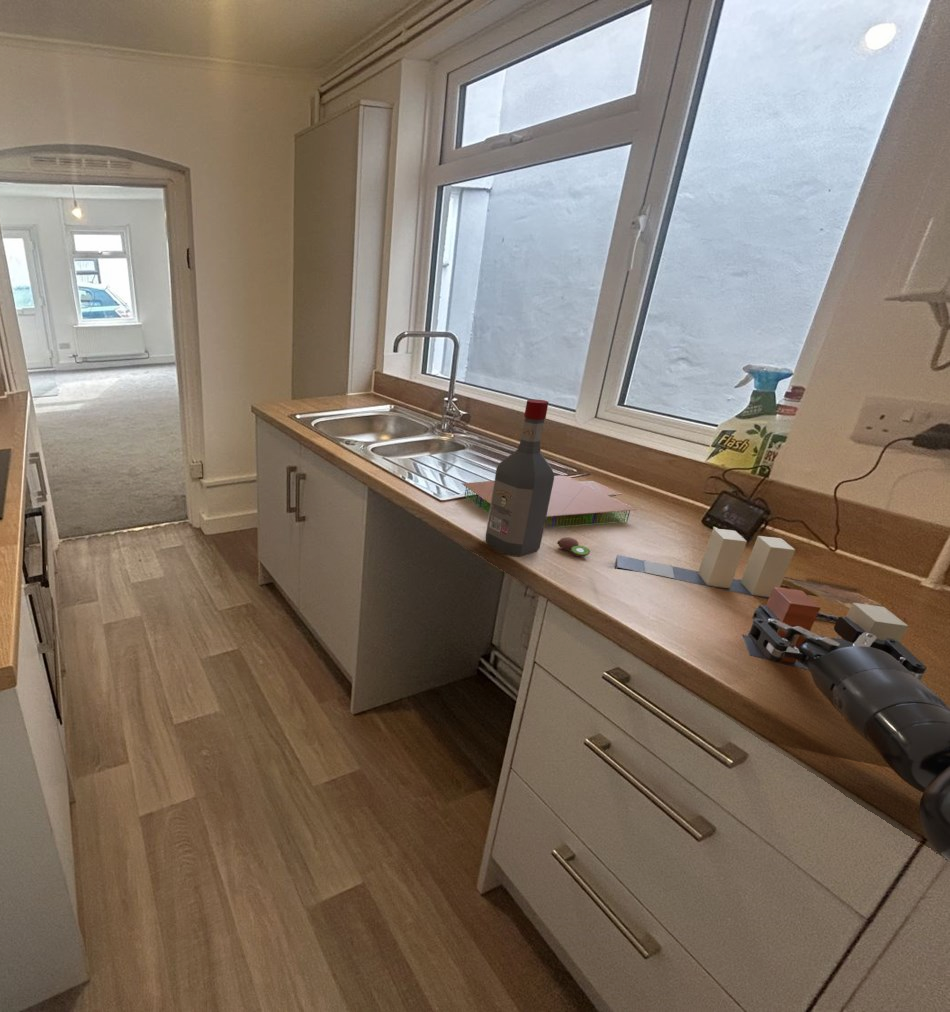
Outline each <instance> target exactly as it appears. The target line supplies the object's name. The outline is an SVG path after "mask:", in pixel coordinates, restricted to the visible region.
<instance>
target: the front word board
mask: <svg viewBox="0 0 950 1012" xmlns="http://www.w3.org/2000/svg"><path fill="white" fill-rule="evenodd" d="M845 617H847V618H849V619H850V620H851V621H852V622H854V623H856V624H857V625H859V626H860V627H861V628H862V629H863V630H864V631H865V632H868V633H871V634H874V635H875V636H877V639H880V640H885V639H886V638H891V639H894V640H897V641H898V642H900V643H901V641H902V639H903V638H904V635H905V634H906V632H907V630H908V628H909V625H908V624H907V623H906V622H904V621H903V620H901V619H900V618H899V617H898V616H897V615H895V614H894V613H892V612H891V611H890V610H889V609H888V608H886V607H885V606H882V605H881V606H873V605H866V604H859V603H852V606H851V608H849V609H848V612H847V614H846V616H845ZM742 638H743V642H744V644H745V647H746V650H747V652H748V655H749V656H751V657H754V658H759V659H763V660H767V661H771V660H770V659H768V658H766V656H765V655H764V654H763V653H762V651H761V650H760V649H759V648H758V646H757V645H756V644H755V643H754V642H753V641H752V639H751V638H750V637H749V636H748V634H747V635H746V634H742ZM835 638H838V639H843V638H842V637H841V636H840V635H839V634H837V635H836V637H835ZM771 662H772V661H771ZM780 664H782V665H785V666H786V665H787V666H790V667H793V668H797V669H803V670H805V671H809V672H810V670H809V668H807V667H806V666H804V665H803V664H801V663H799V662H798V661H796V663H792V662H786V661H782V662H781V663H780Z"/></svg>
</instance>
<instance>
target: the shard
mask: <svg viewBox="0 0 950 1012" xmlns="http://www.w3.org/2000/svg"><path fill="white" fill-rule="evenodd" d="M781 585H784V586H786V588H788V589H794V590H802V591H803V592H804V593H805V594H806V595H807V596H812V597H818V598H820V597H821V598H823V599H825V600H827V601H829V602H831V603H833V604H836V605H838V606H840V607H842V608H844V606H845V607H847V608H849V609H850V608H851V606H852V603H859V604H866V605H873V606H881V607H882V604H881V603H880V602H877V601H875V600H873V599H869V598H868V597H866V596H863V595H862V594H859V592H856V591H852V590H848V589H844V588H838V587H835V586H831V585H826V584H822V583H817V582H813V581H807V580H801V579H797V578H792V577H787V576H784V579H783V581H782V584H781Z"/></svg>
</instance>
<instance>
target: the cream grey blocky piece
mask: <svg viewBox="0 0 950 1012" xmlns="http://www.w3.org/2000/svg"><path fill="white" fill-rule="evenodd" d="M747 543H748V541H747V540H746V539H745V538H744V537H743V536H742V535H741V534H740V533H738V531H736V530H733V529H725V528H724V529H723V528H714V527H713V528H712V531H711V534H710V537H709V539H708V543H707V545H706V548H705V551H704V554H703V557H702V560H701V562H700V566H699V569H698V570H694V569H688V568H682V567H678V566H673V565H670V564H666V563H665V564H664V563H662V562H661V563H660V562H656V561H651V560H646V559H639V558H635V557H634V558H633V557H629V556H624V555H619V554H617V555H616V558H615V561H614V562H615V564H614V565H615V566H614V567H615V568H614V569H615V570H620V571H627V572H628V571H629V572H635V573H643V574H646V575H653V576H656V577H661V578H666V579H671V580H676V581H680V582H684V583H689V584H693V585H694V584H695V585H699V586H704V587H708V588H713V589H718V590H723V591H727V592H733V593H737V594H741V595H746V596H751V597H756V598H760V599H765V600H769V597H770V595H771V592H772V590H773V587H780V588H781V586H782V585H783V584H782V581H783V579H784V577H786V574H787V571H788V569H789V567H790V564H791V563H792V559H793V557H794V554H795V552H796V549H795V548H794V547H793V546H792V545H790V544H789V543H787V541H785V540H784V539H782V538H781V537H773V536H765V535H764V536H763V535H757V537H756V539H755V542H754V545H753V548H752V550H751V552H750V555H749V557H748V561H747V563H746V566H745V569H744V571H743V574H742V577H741V579H739V578H735V575H736V573H737V570H738V567H739V565H740V561H741V559H742V557H743V553H744V551H745V548H746V546H747Z"/></svg>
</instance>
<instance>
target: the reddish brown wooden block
mask: <svg viewBox="0 0 950 1012" xmlns="http://www.w3.org/2000/svg"><path fill="white" fill-rule="evenodd" d="M765 606H767V607H768V608H769V609H770V610H771V611H772V612H773V613H774V614H775V615H776V616H777V617H778V618H779V621H781V622H783V623H785V624H787V625H789V626H791V627H794V626H800V627H802V628H804V629H806V630H808V631H811V630H812V627H813V626H814V624H815V621H816V620H817V619H816V617H817V615H818V612H820V610H821V606H819V604H818V603H817V602H815V601H814V600H813V599H812V598H811V597H810V595H806V594H805V593H804V592H803V591H802V590H794V589H791V588H788V587H781V586H780V587H773V590H772V592H771V595H770V597H769V599H767V602H766V605H765ZM777 634H778V635H779V636H780V637H782V638H785V636H786V633H785V632H784V631H782V630H780V629H779V630H778V632H777ZM805 639H806V638H804V637H802V636H800V635H799V638H798V640H797V642H796V644H795V645H796V647H797V648H799V646H800V645H801V644H802V643H803V641H804V640H805ZM758 648H759V647H758ZM759 649H760V648H759ZM760 650H761V649H760ZM762 653H763V652H762ZM763 654H764V653H763ZM764 655H765V654H764ZM765 656H766V655H765ZM766 658H768V657H767V656H766ZM768 659H769V658H768ZM782 661H786V662H792V663H796V661H797V660H796V659H790V658H783V659H782Z"/></svg>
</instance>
